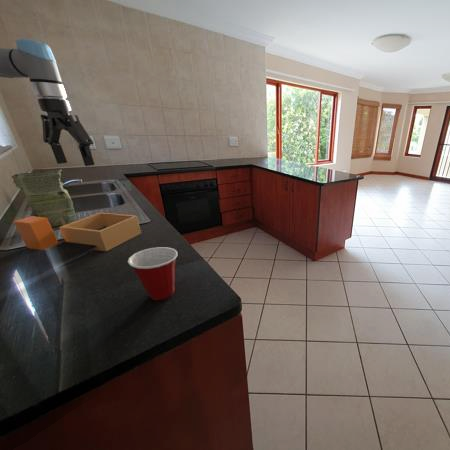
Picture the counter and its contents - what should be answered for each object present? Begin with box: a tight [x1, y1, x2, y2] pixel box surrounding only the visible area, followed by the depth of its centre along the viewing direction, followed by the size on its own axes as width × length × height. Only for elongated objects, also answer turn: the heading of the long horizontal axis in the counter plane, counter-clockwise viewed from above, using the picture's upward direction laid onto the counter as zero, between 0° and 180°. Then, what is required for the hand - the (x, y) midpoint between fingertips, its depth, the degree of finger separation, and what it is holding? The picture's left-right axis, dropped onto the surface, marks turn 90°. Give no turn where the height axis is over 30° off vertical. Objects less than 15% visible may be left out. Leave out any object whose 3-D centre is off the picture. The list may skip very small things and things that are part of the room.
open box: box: [59, 212, 142, 252], centre depth 92 cm, size 18×16×8 cm
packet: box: [12, 215, 60, 251], centre depth 82 cm, size 7×5×12 cm
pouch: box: [11, 168, 77, 231], centre depth 97 cm, size 11×12×25 cm
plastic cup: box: [127, 246, 179, 301], centre depth 62 cm, size 11×11×12 cm
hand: (76, 164), depth 86 cm, fingers open, 13 cm apart
